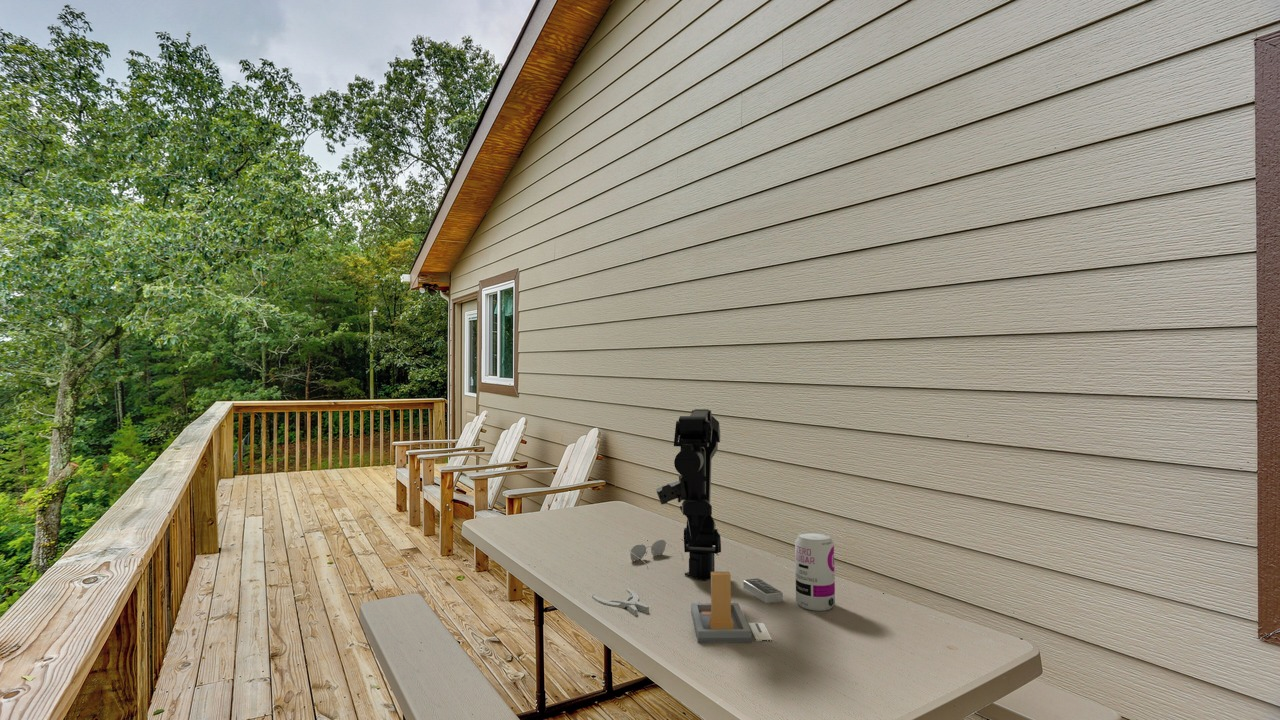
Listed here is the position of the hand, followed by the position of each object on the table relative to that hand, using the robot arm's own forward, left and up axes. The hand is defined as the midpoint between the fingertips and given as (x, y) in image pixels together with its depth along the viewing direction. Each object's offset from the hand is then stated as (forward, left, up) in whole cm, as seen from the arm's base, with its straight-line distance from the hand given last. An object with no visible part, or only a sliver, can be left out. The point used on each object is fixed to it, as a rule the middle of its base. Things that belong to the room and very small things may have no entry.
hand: (693, 539), depth 139 cm
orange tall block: (+11, +16, -12) cm, 23 cm away
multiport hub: (-13, +10, -14) cm, 21 cm away
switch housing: (+8, +16, -13) cm, 22 cm away
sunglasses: (-16, -26, -14) cm, 34 cm away
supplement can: (-15, +22, -13) cm, 30 cm away
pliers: (+13, -9, -14) cm, 21 cm away
